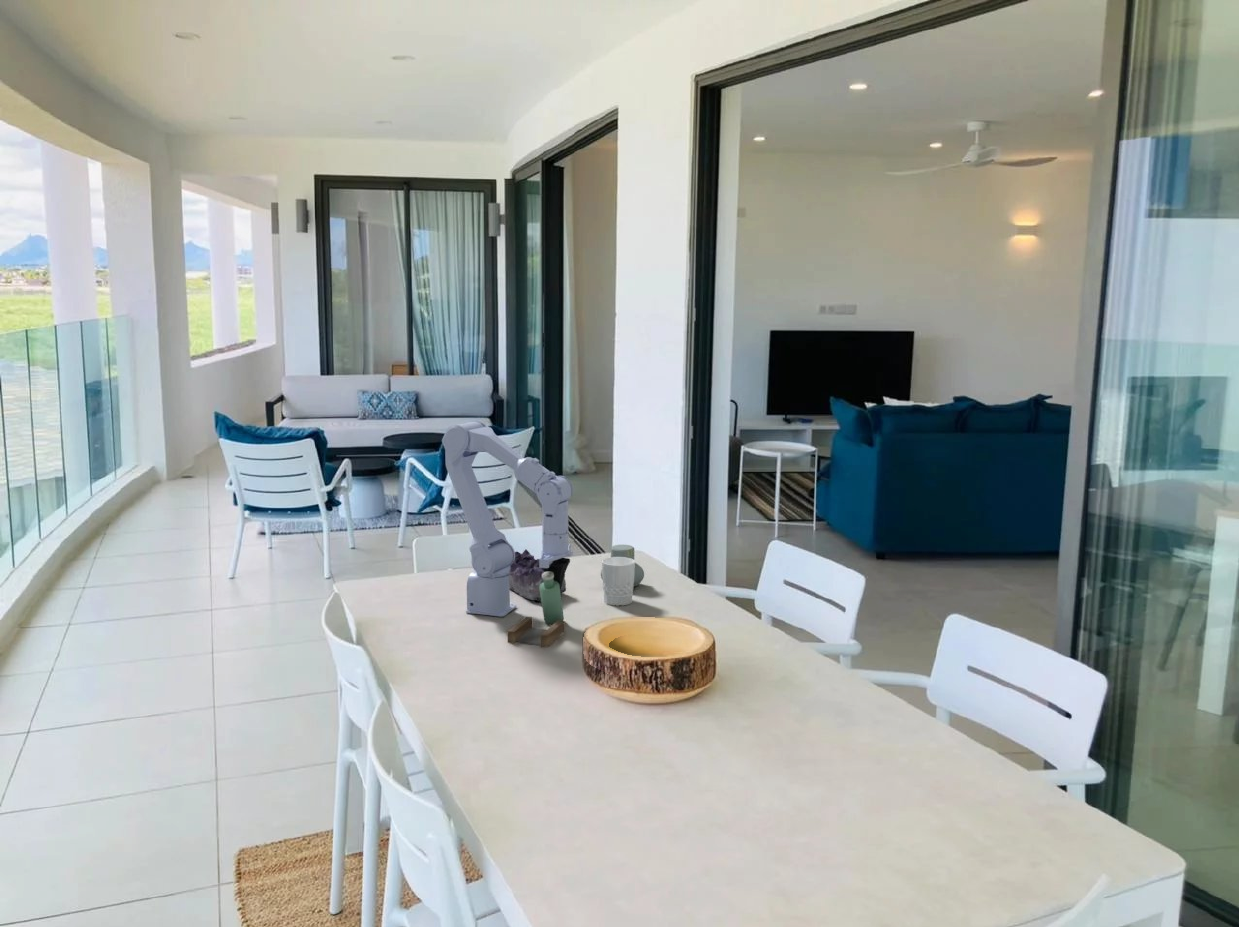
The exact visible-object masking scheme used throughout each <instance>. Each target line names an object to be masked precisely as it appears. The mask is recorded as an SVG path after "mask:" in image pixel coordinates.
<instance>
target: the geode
mask: <svg viewBox="0 0 1239 927" xmlns="http://www.w3.org/2000/svg"><path fill="white" fill-rule="evenodd" d="M539 559H540V558H537V559H536V558H535V555H532V554H531V553H530V551H528V549H527V548H526V549H524V550H523V552H522V553H520V552H518V551H515V560H514V562H513V564H512V565H511V566H510V571H509V574H510V591H514V592H515V593H516V594H518V595H519V596H520V597H524V598H526V599H528V600H531V601H538V602H541V595H540V588H539V586H540V584H541V583H543V582H544V581H543V579H542V574H543V573H544V570H543V568H539ZM566 584H567V582H566V574H565V575H564V579H563V584H562V588H561V591H560V593H561V594H563V593H565V592H566V591H567V587H566ZM541 603H542V602H541Z"/></svg>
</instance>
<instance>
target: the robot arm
mask: <svg viewBox="0 0 1239 927" xmlns="http://www.w3.org/2000/svg"><path fill="white" fill-rule="evenodd" d="M441 443H442V445H443V448H444V450H445V452H444V453H445V455H444V456H445V468H446V471H447V473H448V475H449V479H450V481H451V484H452V486H453V488H454V491H455V494H456V497H457V498H458V501H459V503H460V506H461V509H462V512H463V514H464V517H465V519H466V523H467V524H468V525H467V526H468V528H469V530H470V532H471V535H472V541H471V543H470V545H469V552H470V555H471V565H472V566H471V567H472V569H473V570H474V571H471V572H470V574H469V575H468V577H467V580H466V609H465V613H467V614H474V615H475V614H476V615H483V616H492V617H493V616H494V617H499V618H500V617H503V618H504V617H505V616H506V615H507V614H509V613H510V612H512V611H513V610H514V609H516V607H517V604H511V598H510V597H511V596H510V594H511V592H510V591H511V589H510V574H509V571H510V566H511V565H512V564H513V562H514V560H515V552H516V551H515V549H514V547H513V545H512V544H511V543H510V542H509V541H508V540H507V538H506V535H505V534H504V533H503V532H502V531H500V530H498V529H497V528H496V525H495V524H494V521H493V518H492V515H491V514H490V510H489V507H488V505H487V502H486V500H485V497H484V495H483V492H482V490H481V487H480V485H479V482H478V479H477V477H476V474H475V472H474V469H473V467H472V465H473V463H474V461H475V459H476V457H477V455H478V454H479V453H481V452H485V453H488V454H489V455H491V456H492V457H493V458H495V459H497V460H498V461H499V462H501V463H503V464H504V465H506V466H507V467H509V468H510V469H512V470H513V473H514V478H515V479H516V480H518V481H519V482H520V483H521V484H523V485H524V486H526V487H527V488H528V489H530V490H531V491H532V492H533V493H535V494H536V498H537V499H538V502H539V503H540V505H541V511H542V516H541V517H542V519H541V520H542V521H541V522H542V523H541V524H542V527H541V528H542V530H541V531H542V534H541V535H542V537H541V538H542V541H541V544H542V549H541V554H540V558H538V559H539V568H543V570H544V572H547V571H550V572H553V573H554V578H553V580H554V581H557V582H558V583H559V586H560V591H561V588H562V584H563V579H564V575H565V576H566V571H567V569H568V566H570V562H571V559H570V557H572V556H574V551H572V549H571V548H572V547H571V546H572V545H571V543H569V500H570V499H571V497H572V496H573V493H574V492H573V491H574V488H573V484H572V483H571V481H570V480H569V479H568V478H567V477H566V476H564V475H556V473H555V472H554V471H550V470H549V469H547V468H546V467H545V466H543V465H542V464H541V463H540V459H538V458H537V457H534V458H533V457H531V456H527V457H522V455H521V454H519V453H518V452H516V451H515V450H514V449H513V448H512V447H511V446H509V444H507V442H505V441H504V440H502V438H500V437H499V436H498V435H497V434H496V433H495V432H494V430H493V428H492V427H490V426H487V425H486V424H485V423H484V422H483V421H481V420H473V421H469V422H465V423H461V424H452V425H450V426H448V428H447V429H446V431H445V433H444V435H443V437H442V439H441ZM568 557H569V558H568Z"/></svg>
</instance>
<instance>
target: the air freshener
mask: <svg viewBox="0 0 1239 927" xmlns="http://www.w3.org/2000/svg"><path fill="white" fill-rule="evenodd" d="M610 557H626V558H631V559H633V560H635V547H634V546H632V545H630V544H615V545H613V546H611V547H610ZM600 578H601V580H602V581H603V576H602V569H601V570H600ZM644 578H645V571H644V569H643V567H642V566H641V565H640V564H639V563H636V562H635V572H634V587H635V586H638V585H639V584H640V583H641V582H643V580H644Z"/></svg>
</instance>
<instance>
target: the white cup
mask: <svg viewBox="0 0 1239 927" xmlns="http://www.w3.org/2000/svg"><path fill="white" fill-rule="evenodd" d="M635 563H636V560H635V559H634V560H633V559H631V558H626V557H611V556H610V557H606V558H604V559H602V560H601V568H602V569H601V570H602V576H603V580H602V587H603V588H602V590H603V601H604V603H605V604H606V605H610V606H615V605H616V607H617V606H618V607H619V605H622V606H628V605H630V604H633V592H634V587H635V586H634V572H635Z"/></svg>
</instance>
